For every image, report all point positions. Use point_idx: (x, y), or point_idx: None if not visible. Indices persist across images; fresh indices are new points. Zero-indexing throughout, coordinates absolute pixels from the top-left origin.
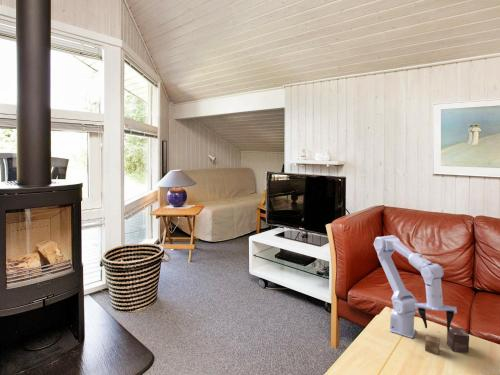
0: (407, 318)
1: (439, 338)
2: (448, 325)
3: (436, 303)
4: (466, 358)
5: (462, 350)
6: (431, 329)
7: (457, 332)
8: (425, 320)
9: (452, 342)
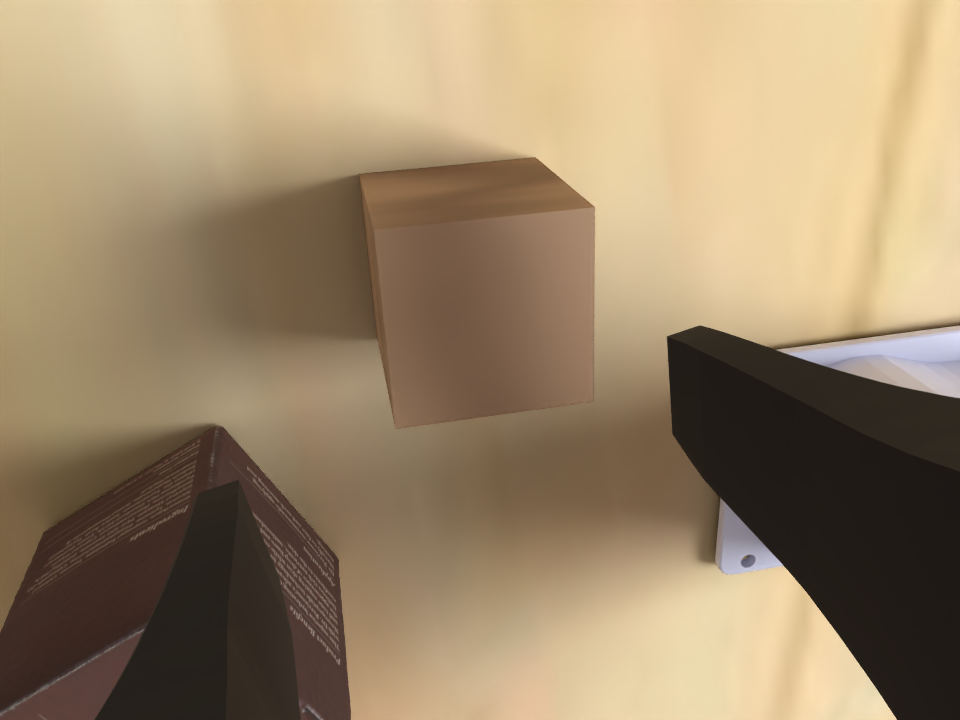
0: None
1: (399, 417)
2: (198, 579)
3: None
4: (13, 379)
5: (103, 503)
6: (556, 712)
7: None
8: (817, 404)
9: None
